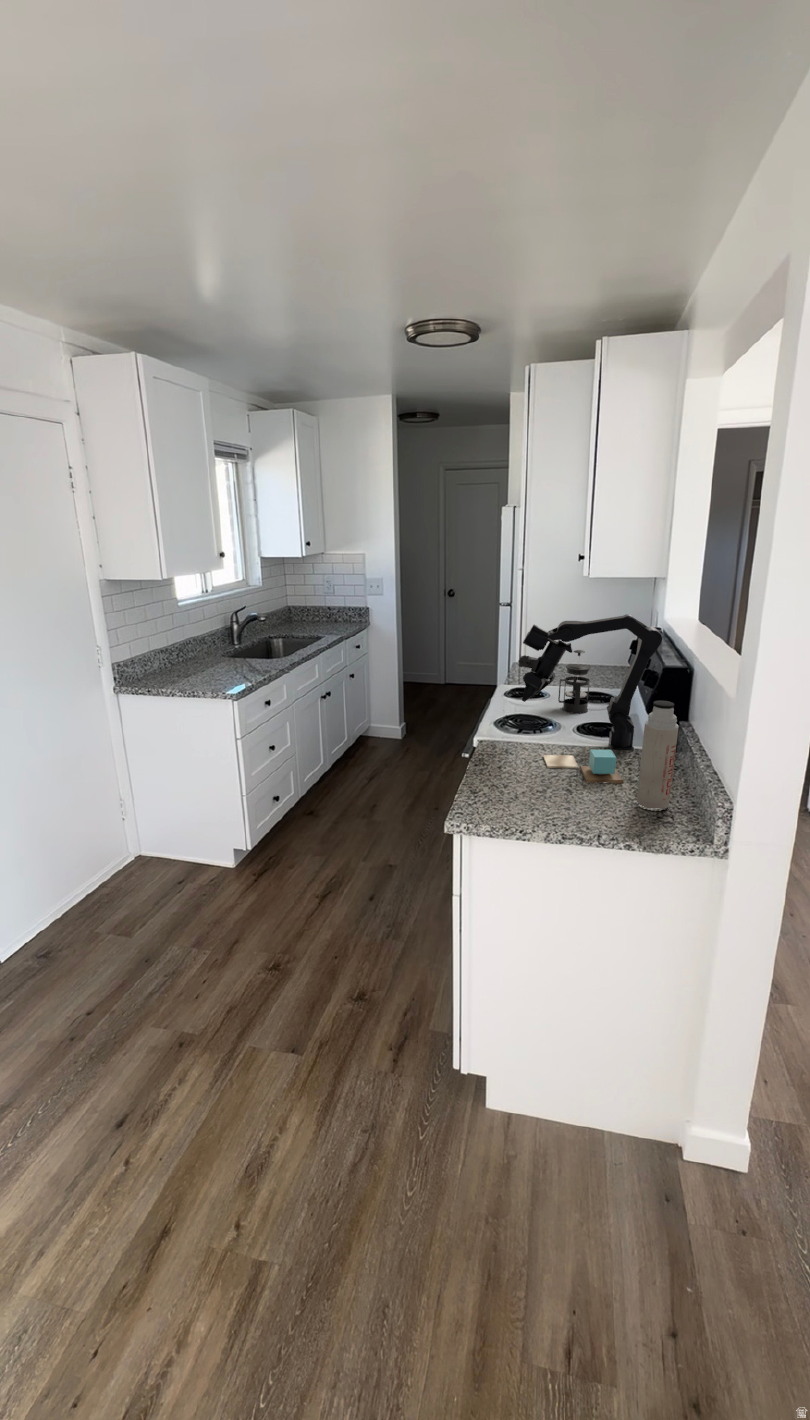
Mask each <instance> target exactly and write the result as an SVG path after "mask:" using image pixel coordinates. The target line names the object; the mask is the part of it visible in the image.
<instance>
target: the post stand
mask: <svg viewBox="0 0 810 1420" xmlns="http://www.w3.org/2000/svg"><path fill="white" fill-rule="evenodd" d="M579 769H580V771H581V774H582V776H583V778H584V779H585V782H586V783H587V782H588V783H589V784H590V783H591V782H592V783H591V784H600V783H599V782H614V783H613V784H624V779H623V777H622V776H621V774H620V772H619V771H618V770H617V768H616V767H615V774H593V772H592V770H591V769H590V767H589V765H580V768H579ZM593 782H595V783H593ZM596 782H597V783H596ZM615 782H616V783H615Z"/></svg>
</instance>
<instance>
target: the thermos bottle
mask: <svg viewBox="0 0 810 1420" xmlns="http://www.w3.org/2000/svg"><path fill="white" fill-rule="evenodd" d="M652 705H653V708H652V711H651V712H650V713H648V716H647V718H648V719H647V720H646V721H645V722H644V726H643V727H644V728H643V737H642V747H641V757H640V765H639V766H640V767H639V775H638V783H637V792H636V793H637V794H636V801H637V802H638V803H639V804H640V805H642V806H644V807H647V808H666V807H668V806H669V807H670V799H671V790H672V783H673V774H674V767H675V759H676V751H677V743H678V737H679V736H678V735H679V727H680V726H679V725H678V724H677V722H678V719H677V718H678V717H677V716H676V714H674V711H675V709H674V707H675V703H674V702H671V701H668V700H655V701H653V704H652Z"/></svg>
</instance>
